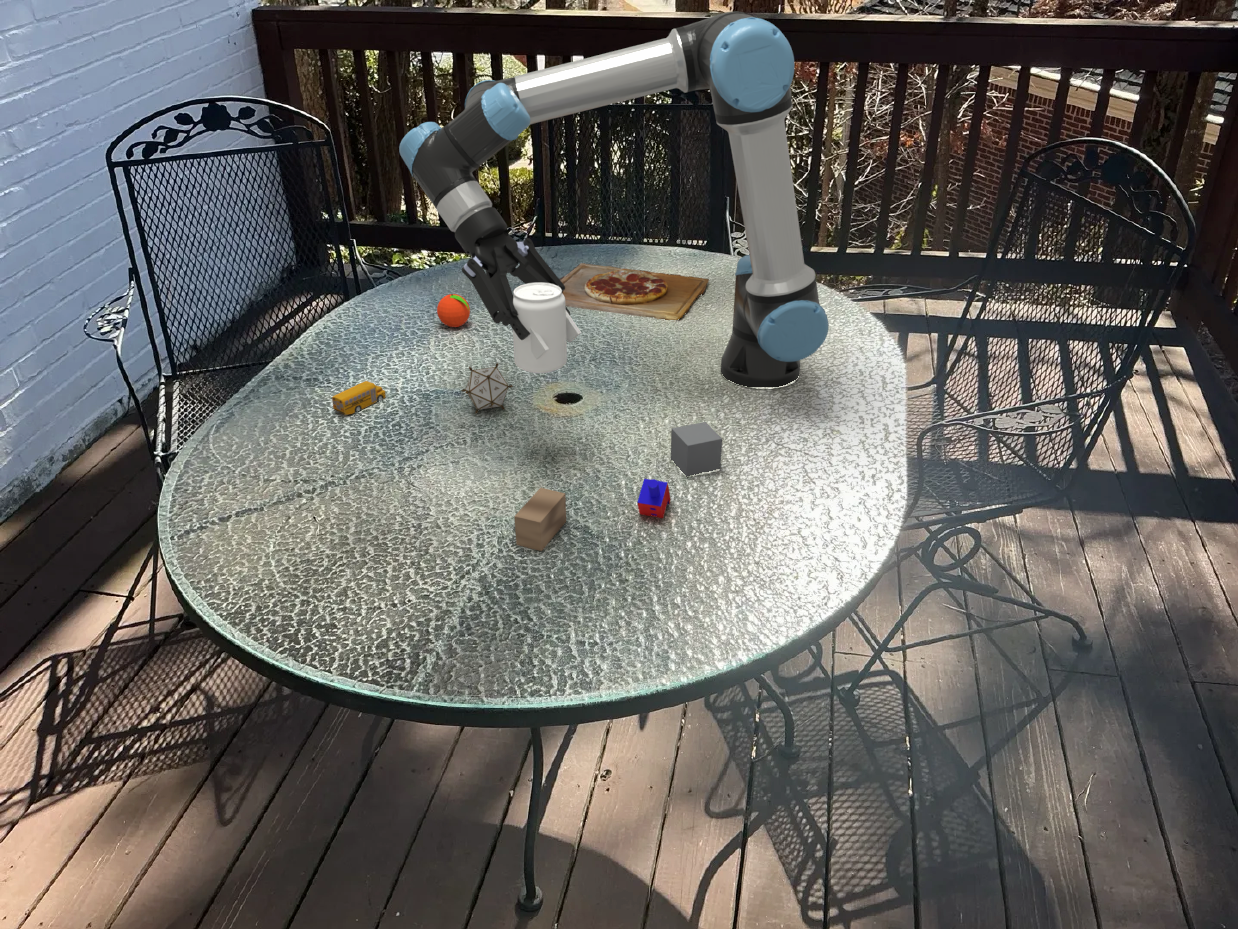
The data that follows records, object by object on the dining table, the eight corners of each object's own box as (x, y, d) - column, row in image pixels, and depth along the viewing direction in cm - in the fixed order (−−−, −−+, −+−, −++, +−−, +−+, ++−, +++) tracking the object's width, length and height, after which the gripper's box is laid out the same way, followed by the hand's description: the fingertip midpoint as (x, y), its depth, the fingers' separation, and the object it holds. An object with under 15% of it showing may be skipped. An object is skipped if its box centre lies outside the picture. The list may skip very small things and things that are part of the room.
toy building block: (641, 520, 141) (634, 493, 134) (648, 496, 143) (642, 468, 136) (664, 524, 140) (658, 496, 133) (670, 499, 142) (665, 472, 135)
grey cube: (703, 453, 154) (705, 421, 151) (720, 471, 150) (722, 438, 147) (670, 460, 153) (671, 428, 149) (686, 478, 148) (687, 445, 145)
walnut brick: (542, 516, 139) (540, 487, 136) (566, 522, 138) (565, 493, 135) (516, 545, 133) (514, 516, 130) (541, 551, 131) (540, 522, 129)
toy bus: (387, 398, 172) (384, 380, 170) (345, 419, 165) (342, 400, 163) (375, 394, 173) (372, 375, 171) (333, 414, 166) (330, 395, 164)
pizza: (533, 307, 211) (532, 292, 209) (575, 267, 234) (575, 253, 232) (684, 326, 202) (685, 310, 200) (713, 282, 225) (713, 268, 223)
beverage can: (515, 354, 148) (510, 281, 142) (566, 352, 149) (563, 280, 143) (514, 377, 141) (509, 301, 135) (568, 374, 142) (565, 300, 136)
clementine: (481, 325, 201) (479, 293, 197) (460, 335, 196) (457, 303, 192) (453, 317, 205) (450, 286, 201) (431, 327, 200) (428, 296, 196)
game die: (496, 430, 169) (500, 405, 160) (453, 411, 169) (454, 385, 159) (516, 390, 173) (521, 364, 164) (473, 372, 172) (477, 344, 163)
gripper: (506, 219, 151) (587, 336, 151) (414, 250, 137) (502, 379, 137) (529, 191, 146) (613, 313, 146) (435, 221, 132) (527, 355, 132)
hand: (559, 345), depth 141 cm, fingers closed on beverage can, 7 cm apart
